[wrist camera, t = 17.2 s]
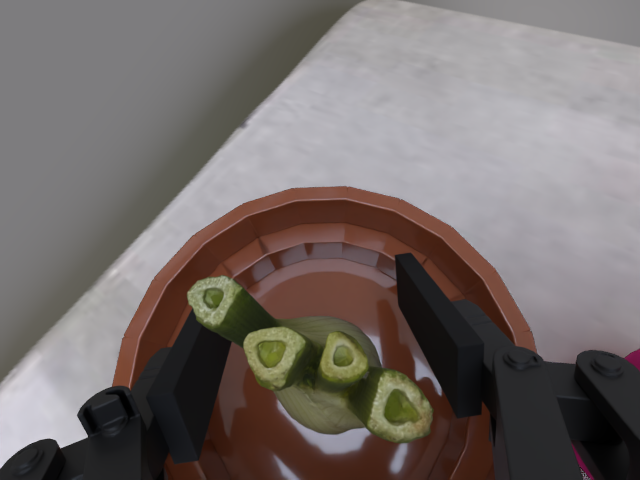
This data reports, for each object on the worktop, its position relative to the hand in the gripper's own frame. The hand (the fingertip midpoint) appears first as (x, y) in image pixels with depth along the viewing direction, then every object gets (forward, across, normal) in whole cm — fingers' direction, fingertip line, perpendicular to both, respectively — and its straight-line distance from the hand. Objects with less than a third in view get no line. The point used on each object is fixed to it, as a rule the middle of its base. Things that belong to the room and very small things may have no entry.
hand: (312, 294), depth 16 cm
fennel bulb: (0, 0, -5) cm, 5 cm away
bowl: (0, 0, -5) cm, 5 cm away
